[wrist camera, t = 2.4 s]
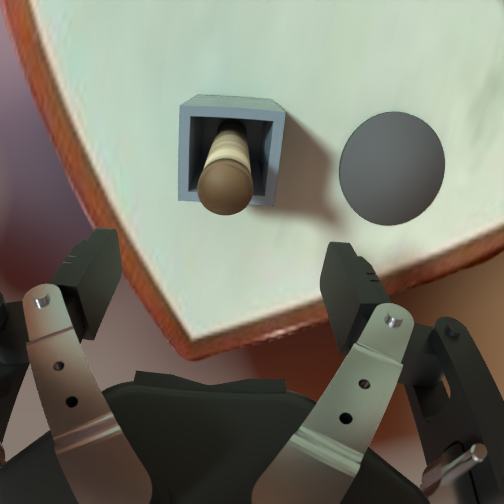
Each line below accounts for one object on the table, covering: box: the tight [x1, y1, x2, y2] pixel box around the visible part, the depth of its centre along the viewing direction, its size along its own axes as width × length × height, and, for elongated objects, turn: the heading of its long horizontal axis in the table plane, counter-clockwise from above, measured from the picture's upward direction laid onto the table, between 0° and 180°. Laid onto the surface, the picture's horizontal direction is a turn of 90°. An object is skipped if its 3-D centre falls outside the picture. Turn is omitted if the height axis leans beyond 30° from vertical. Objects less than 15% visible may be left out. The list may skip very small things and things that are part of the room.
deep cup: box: [178, 95, 286, 206], centre depth 27 cm, size 8×8×10 cm
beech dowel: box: [197, 119, 253, 215], centre depth 24 cm, size 3×3×16 cm
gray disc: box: [339, 112, 445, 225], centre depth 34 cm, size 14×14×1 cm
